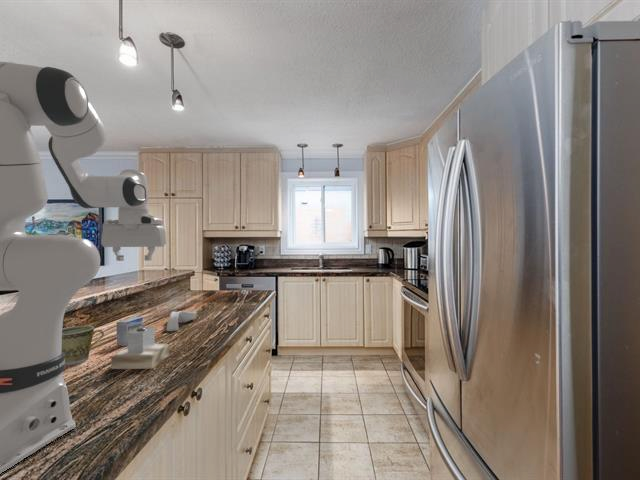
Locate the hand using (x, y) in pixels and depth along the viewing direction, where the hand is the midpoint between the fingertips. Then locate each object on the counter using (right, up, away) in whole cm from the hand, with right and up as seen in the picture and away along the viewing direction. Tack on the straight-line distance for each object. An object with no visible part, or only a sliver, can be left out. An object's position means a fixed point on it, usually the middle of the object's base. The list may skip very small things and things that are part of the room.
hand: (134, 260), depth 107 cm
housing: (+7, -27, -8) cm, 29 cm away
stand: (+7, -31, -8) cm, 33 cm away
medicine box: (-8, -32, +11) cm, 34 cm away
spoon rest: (-1, -32, +37) cm, 49 cm away
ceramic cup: (-13, -31, -7) cm, 35 cm away
